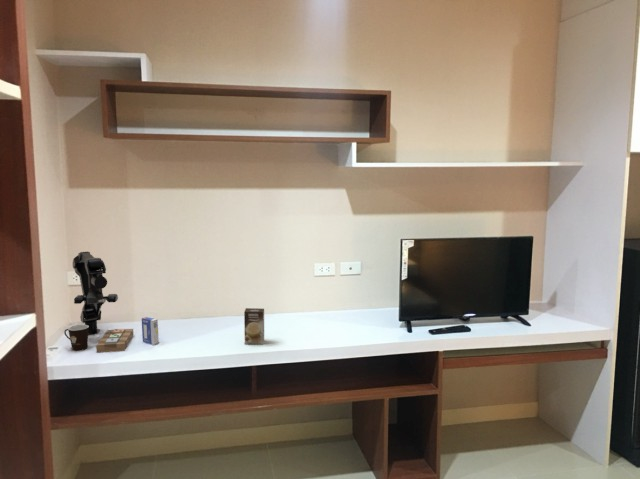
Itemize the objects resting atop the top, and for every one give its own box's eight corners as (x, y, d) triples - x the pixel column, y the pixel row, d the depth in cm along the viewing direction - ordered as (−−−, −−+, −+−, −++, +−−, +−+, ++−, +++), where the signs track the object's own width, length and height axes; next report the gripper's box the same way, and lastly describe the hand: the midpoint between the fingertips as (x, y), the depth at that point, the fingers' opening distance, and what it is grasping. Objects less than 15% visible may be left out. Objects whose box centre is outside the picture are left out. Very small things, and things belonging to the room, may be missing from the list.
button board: (108, 336, 255) (107, 330, 254) (133, 335, 257) (133, 328, 256) (96, 352, 233) (96, 345, 232) (124, 350, 235) (124, 343, 234)
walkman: (142, 342, 247) (141, 317, 246) (147, 340, 250) (145, 316, 248) (154, 344, 243) (153, 320, 242) (158, 342, 246) (157, 318, 244)
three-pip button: (111, 339, 247) (111, 333, 246) (122, 339, 247) (121, 332, 247) (109, 343, 242) (109, 336, 242) (120, 342, 243) (119, 336, 242)
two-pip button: (114, 335, 253) (114, 328, 253) (125, 334, 254) (124, 328, 254) (112, 338, 249) (112, 331, 248) (123, 337, 250) (122, 331, 249)
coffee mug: (93, 348, 239) (92, 327, 237) (74, 353, 232) (72, 331, 231) (82, 342, 246) (80, 322, 245) (63, 347, 240) (62, 326, 239)
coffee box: (244, 344, 243) (243, 311, 241) (246, 340, 249) (245, 308, 247) (263, 344, 243) (262, 311, 241) (265, 340, 249) (264, 308, 247)
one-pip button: (108, 344, 240) (107, 338, 239) (119, 344, 241) (118, 337, 240) (105, 348, 235) (105, 341, 235) (116, 347, 236) (116, 340, 236)
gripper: (69, 289, 238) (71, 321, 240) (112, 287, 241) (114, 320, 243) (76, 283, 248) (78, 315, 251) (117, 282, 252) (118, 313, 254)
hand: (97, 315), depth 249 cm, fingers closed
